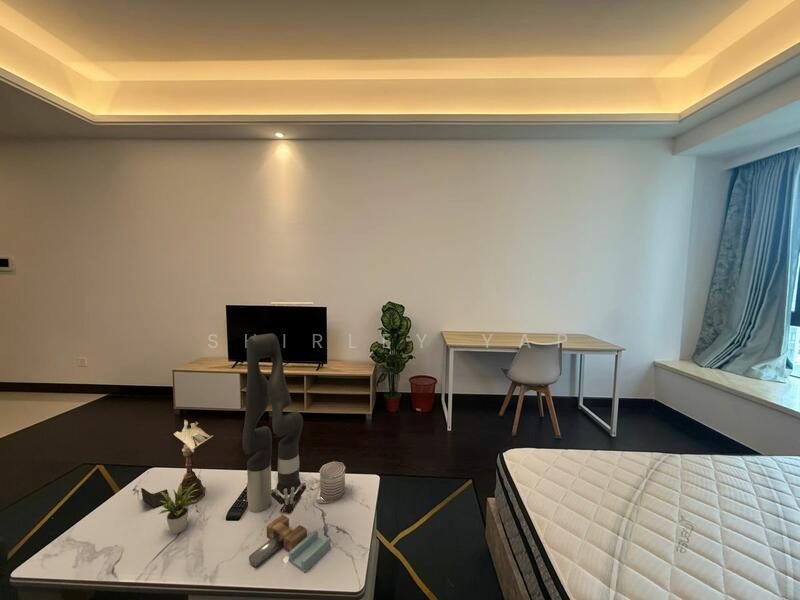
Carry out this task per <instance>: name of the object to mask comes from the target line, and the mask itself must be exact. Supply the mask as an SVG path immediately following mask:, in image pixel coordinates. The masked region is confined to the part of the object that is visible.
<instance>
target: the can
mask: <svg viewBox="0 0 800 600" xmlns="http://www.w3.org/2000/svg"><path fill="white" fill-rule="evenodd" d="M318 472H319V496H321V497H322V498H323V499H324V500H325V501H324V502H325V503H335V502H338V501H340V500H342V499H343V498H344V496H345V495H346V466H345V464H344V463H343V462H341V461H340V462H339V461H331V462H328V463H326V464H323V465H322V466H321V468H320V469H319V470H318Z"/></svg>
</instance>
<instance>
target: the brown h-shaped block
mask: <svg viewBox="0 0 800 600" xmlns="http://www.w3.org/2000/svg"><path fill="white" fill-rule="evenodd" d="M265 528H266V538H267V539H268V540H271V539H272V538H273V537H275V536H276V535H277V534H280V535H282V536H283V537H284V544H283V550H284V551H286V552H287V553H289V552H290V551H291V550H292V549H293V548H294V547H296V546H297V545H298V544H299V543H300V542H302V541H303V540H304V539H305V538H306V537H308V529H307V528H306V527H304V526H303V525H301V524H299V525H297V526H296V527H295V528H293V529H292V528H290V518H289V517H287V516H286V515H284V514H280V515H279V516H278V517H276V518H275V519H273V520H272V521H270V522H269V523H268V524H267V525H266V527H265Z"/></svg>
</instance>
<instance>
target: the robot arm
mask: <svg viewBox="0 0 800 600" xmlns="http://www.w3.org/2000/svg"><path fill="white" fill-rule="evenodd" d="M281 351H282V350H281V345H280V342H279V339H278V336H276V334H274V333H265V334H259V335H258V334H257V335H251V336H250V337H248V339H247V341H246V366H247V367H246V368H247V369H246V370H247V374H246V375H247V378H246V389H245V390H246V392H245V415H244V416H245V417H244V426H243V433H242V449H243V452H244V453H245V454H246V455H252V454H254V455H252V456H251V457H250V458H249V459H248V461H247V464H246V468H247V469H246V471H247V475H246V476H247V483H246V503H247V502H248V505H247V508H248V510H249V511H250V512H252V513H258V512H263V511H265V510H267V509H268V508H269V507H270V506H271V505H272V499H274V501H276V502H277V503H278V504H279V505H284V511H285V513H286V514H287V515H289V514H292V512H294V502H298V501H299V499H300V498H301V497H302V495H303V494H304V493H305V491H306V490H307V484H306V482H302V481H301V479H300V455H299V442H300V439H301V434H302V432H303V431H302V430H303V428H304V419H303V416H302V414H301V413H300V412H299V411H295V410H294V411H291V412H288V413H285V414H283V410H284V409H286V408H288V407H290V406H291V405H292V398H291V393H290V391H289V388H288V385H287V382H286V381H287V380H286V377H285V372H284V364H283V357H282V352H281ZM266 358H270V359H271V363H272V364H271V372H270V375H269V379H267V378H266V376H265V375H264V373H263V372H262V370H261V368H260V359H266ZM270 404H271V414H272V416H271V417H272V423H271V424H272V426H271V427H272V431H273V433H274V435H275V436H277V437H280V438H281V437H283V438H282V439H280V441H279V442H278V446H277V451H278V452H277V453H278V455H277V468H276V469H277V484H276V487H275V488H274V489H272V446H273V444H272V443H273V437H272V436H273V434H272V431H271V428H270V427H269V426H267V425H263V426H260V427H258V428H256V427H257V424H258V422H259V420H260V419H261V417H262V416H263V415H264V413H265V411H266V410H267V409H268V407H269V406H270ZM284 436H285V437H284ZM279 493H280V494H279ZM281 495H282V496H281Z"/></svg>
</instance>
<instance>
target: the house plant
mask: <svg viewBox="0 0 800 600" xmlns="http://www.w3.org/2000/svg"><path fill="white" fill-rule="evenodd" d="M195 484H196V483H195ZM195 484H193V485H192V486H191V487H190V488H188V490H187V489H186V490H187V492H186V493H185V495H184V496H182V497H181V495H182V493H183V492H182V486H181V484H179V485H178V487H177V491H175V489H174V488H172V490H173V494H174V497H173V499H174V498H175V499H176V505H175V501H173V500H172V498H171V497H170V495H167V494H165V493H163V492H161V493H162V494H163V495H164V497H165V498H166V500H167V502H168V503H167V502H165V501H160V502H163V503H165V505H163V506H162V508H164V509H162V510H161V511H159V513H158V515H160V514H165V513H167V515H166V522H167V524H168V530H169V533H170V534H172V535H176V534H180V533H181V532H183V531H184V530H186V528H187V524H188V517H189V511H190V510H189V508H188V507H189V506H191V505H192V504H191V503H193V502H196V501H195V500H191V501H188V502H187V503H186V501H187V500H188V499H189V498H190V497H193V496H189V495H190V494H191V493H192V492H194V491H197V490H193V491H191V492H190V490H191V489H192V488H193V486H194V485H195ZM186 490H185V491H186ZM185 491H184V492H185ZM189 492H190V493H189ZM188 493H189V494H188ZM190 502H191V503H190ZM188 503H190V504H191V505H190V504H189V505H187V506H185V505H186V504H188Z"/></svg>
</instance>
